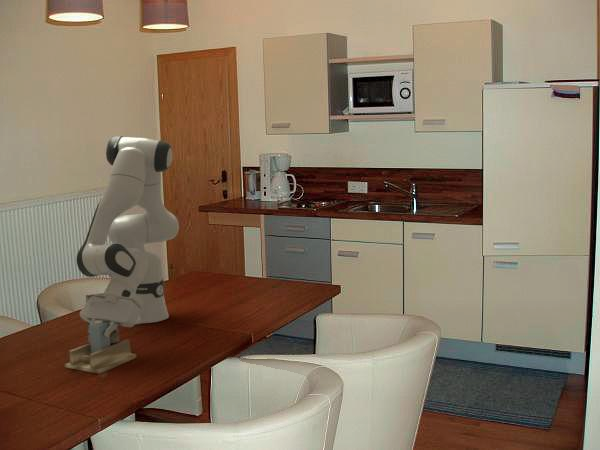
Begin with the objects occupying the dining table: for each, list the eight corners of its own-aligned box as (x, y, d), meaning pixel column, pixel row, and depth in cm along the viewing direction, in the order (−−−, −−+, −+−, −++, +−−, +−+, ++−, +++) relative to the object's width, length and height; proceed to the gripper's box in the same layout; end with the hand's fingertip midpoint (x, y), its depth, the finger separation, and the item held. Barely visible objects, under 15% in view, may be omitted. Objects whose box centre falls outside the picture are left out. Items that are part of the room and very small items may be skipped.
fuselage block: (91, 356, 228) (88, 322, 227) (100, 352, 232) (98, 318, 230) (101, 358, 226) (98, 323, 225) (110, 354, 230) (108, 320, 228)
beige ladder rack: (64, 367, 226) (63, 350, 225) (102, 351, 240) (101, 335, 239) (99, 373, 219) (98, 356, 218) (136, 357, 233) (135, 340, 232)
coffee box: (92, 347, 245) (88, 298, 243) (88, 342, 251) (84, 294, 248) (120, 342, 249) (116, 295, 247) (115, 337, 255) (112, 291, 252)
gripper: (87, 288, 237) (67, 326, 230) (137, 293, 227) (117, 333, 220) (98, 298, 242) (78, 336, 235) (148, 304, 232) (129, 344, 225)
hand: (98, 335), depth 227 cm, fingers closed on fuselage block, 4 cm apart
